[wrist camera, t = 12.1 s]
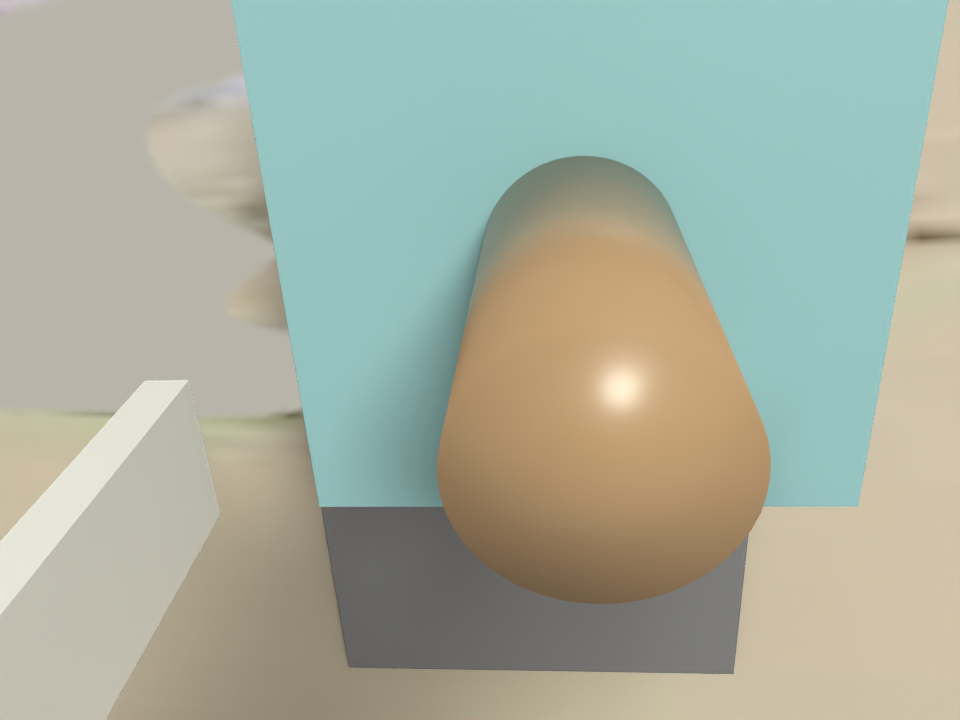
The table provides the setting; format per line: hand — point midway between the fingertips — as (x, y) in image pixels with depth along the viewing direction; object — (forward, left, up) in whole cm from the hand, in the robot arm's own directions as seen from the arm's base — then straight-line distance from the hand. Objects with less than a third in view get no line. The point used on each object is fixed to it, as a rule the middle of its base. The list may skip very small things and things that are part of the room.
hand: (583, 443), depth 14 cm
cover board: (0, 0, -10) cm, 10 cm away
